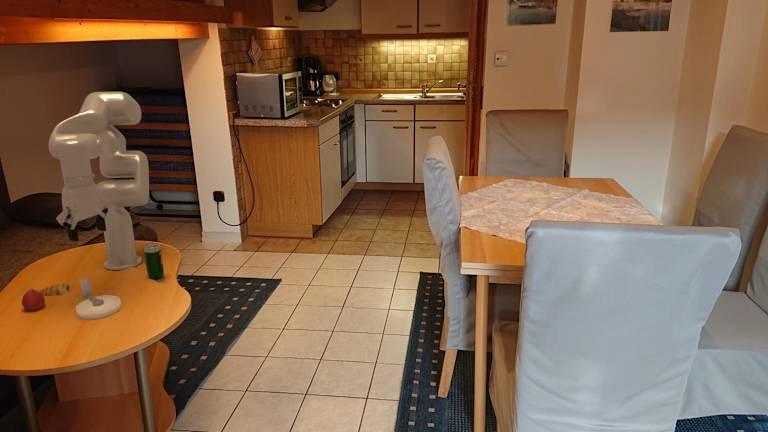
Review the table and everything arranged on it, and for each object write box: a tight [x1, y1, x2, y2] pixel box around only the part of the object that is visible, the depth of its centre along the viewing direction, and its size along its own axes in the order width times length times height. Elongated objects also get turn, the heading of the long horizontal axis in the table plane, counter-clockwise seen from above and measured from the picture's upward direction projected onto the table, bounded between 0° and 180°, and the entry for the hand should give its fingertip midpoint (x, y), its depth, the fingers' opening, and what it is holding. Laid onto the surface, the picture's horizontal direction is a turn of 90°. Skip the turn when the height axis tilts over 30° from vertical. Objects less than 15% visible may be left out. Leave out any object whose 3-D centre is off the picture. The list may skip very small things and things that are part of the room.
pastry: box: [38, 282, 71, 297], centre depth 175 cm, size 9×7×4 cm
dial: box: [75, 278, 122, 321], centre depth 164 cm, size 16×12×7 cm
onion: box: [21, 287, 46, 312], centre depth 164 cm, size 6×6×8 cm
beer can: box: [143, 243, 165, 283], centre depth 186 cm, size 5×5×12 cm
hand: (88, 235), depth 165 cm, fingers open, 9 cm apart
